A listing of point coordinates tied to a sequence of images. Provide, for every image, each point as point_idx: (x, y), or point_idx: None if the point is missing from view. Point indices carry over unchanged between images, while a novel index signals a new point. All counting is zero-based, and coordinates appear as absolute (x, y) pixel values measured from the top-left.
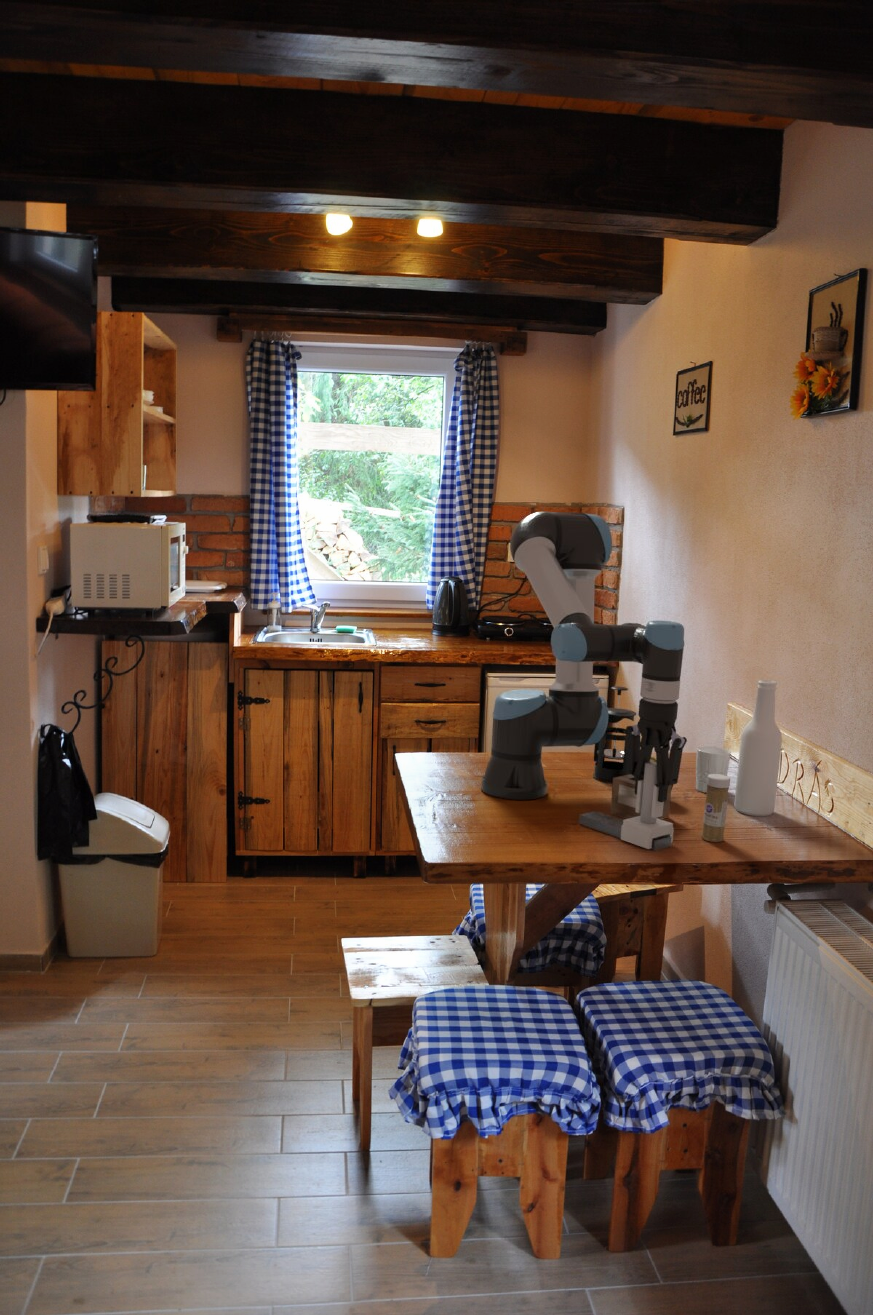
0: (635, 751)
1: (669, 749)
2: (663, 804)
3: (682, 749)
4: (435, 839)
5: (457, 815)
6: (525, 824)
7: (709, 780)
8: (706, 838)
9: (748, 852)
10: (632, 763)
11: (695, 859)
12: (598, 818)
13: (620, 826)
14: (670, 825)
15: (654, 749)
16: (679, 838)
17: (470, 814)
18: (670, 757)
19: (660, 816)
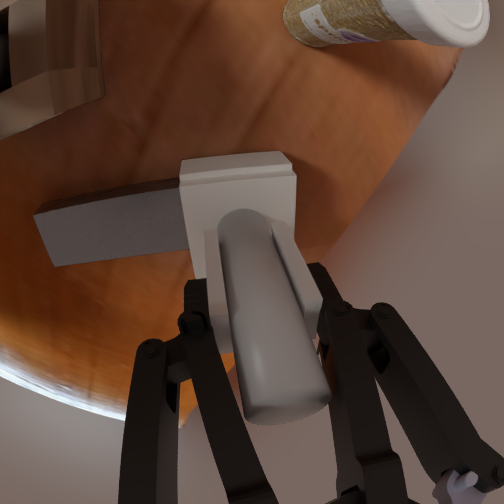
0: (171, 465)
1: (398, 457)
2: (81, 2)
3: (477, 436)
4: (111, 413)
5: (24, 367)
6: (58, 330)
7: (430, 36)
8: (317, 46)
9: (413, 45)
10: (177, 417)
11: (369, 186)
12: (87, 247)
13: (160, 238)
14: (295, 185)
15: (337, 489)
16: (255, 89)
17: (18, 355)
18: (415, 437)
19: (95, 18)
